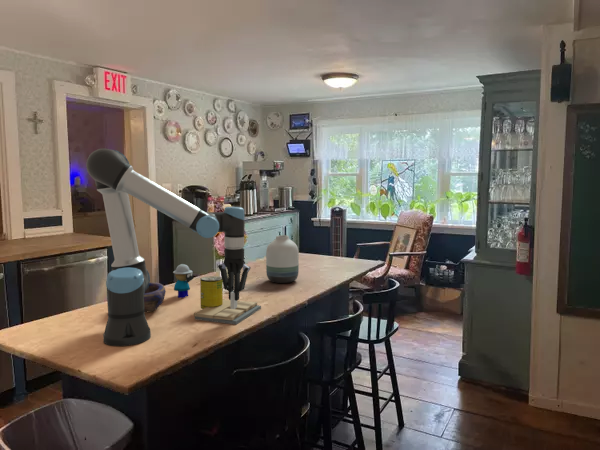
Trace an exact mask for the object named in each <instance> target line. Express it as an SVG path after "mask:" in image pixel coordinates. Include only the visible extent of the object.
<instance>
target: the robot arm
mask: <svg viewBox="0 0 600 450" xmlns="http://www.w3.org/2000/svg"><path fill="white" fill-rule="evenodd" d="M85 166H86V171H87V174H89V176H90V177H91V178H92V179H93V180H94V183H95V186H96V191H97V192H98V193H100V194H101V195H102V199H103V203H104V204H103V205H104V210H105V216H106V220H107V221H106V222H107V224H108V231H109V235H110V241H111V247H112V252H113V258H114V260H113V262H112V263H111V264H110V265H111V271H109V272H108V273H107V276H106V280H105V281H106V282H105V286H106V302H107V320H106V324H105V329H104V332H103V334H102V336H103V337H102V338H103V339H102V340H103V343H104V344H105V345H108V346H112V347H129V346H133V345H138V344H141V343H144V342H146V341H148V340H149V339H150V338H151V335H152V334H151V328H150V326H149V323H148V321H147V320H148V319H147V318H146V314H145V313H146V312H144V293H145V291H146V290H147V288H148V286H149V283H151V279H150V278H151V277H150V276H151V275H150V273H149V270H148V268H147V265H146V259H145V258H144V257H143V256H141V255H140V251H139V247H138V246H139V245H138V241H137V239H138V238H137V235H136V230H135V224H134V218H133V213H132V206H131V201H130V196H132V197H134V198H135V199H137V200H139V201H141V202H143V203H144V204H146V205H148V206H150V207H151V208H153V209H155V210H157V211H158V212H160V213H162V214H165V215H166V216H167V217H169V218H171V219H173V220H174V221H176V222H179V223H180V224H181V225H183V226H185V227H187V228H189V229H191V230H192V232H194V233H197V234H198V235H199V236H201V238H205V239H211V238H213V237H215V236H217V234H218V233H224V235H223V236H224V238H223V239H224V241H223V243H224V244H223V246H224V250H223V254H224V255H223V256H224V260H223V263H221V264H218V265H217V268H218V269H219V271H220V277H222V281H223V290H225V291H228V300H231V309H236V308H237V300H238V301H240V292H242V291H244V290H245V287H246V282H247V279H248V275H249V271H251V266H248V265H247V264H246V262H245V227H246V226H245V223H246V222H245V220H246V219H245V209H244V208H243V207H241V206H226V207H224V211H220V212H219V211H218V212H215V211H214V212H213V211H209V212H208V211H204V210H202V209H201V208H199V207H198V206H196V205H194V204H192V203H190V202H189V201H187V200H185V199H184V198H182V197H180V196H178V195H177V194H175V193H174V192H171V191H170V190H168V189H166V188H164V187H163V186H161V185H160V184H159V183H156V182H155V181H153V180H151V179H149V178H148V177H147V176H144V175H143V174H141V173H139V172H137V171H135V170H134V167H133V165H131V164H130V162H129V160H128V158H127V157H126V156H125V155H124V154H123V153H122V152H121V151H118V150H116V149H111V148H110V149H109V148H98V149H96V150H94V151H92V152H91V153H90V154H89V156H88V158H87V159H86V164H85ZM129 195H130V196H129ZM241 271H242V272H241Z"/></svg>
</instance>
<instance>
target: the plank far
mask: <svg viewBox="0 0 600 450" xmlns="http://www.w3.org/2000/svg"><path fill="white" fill-rule="evenodd" d="M238 301H239V302H237V308H236V309H237V310H244V311H248V310H250V309H251V308H253V307H255V306H256V305H258V302H257V301H246V300H238ZM229 309H231V306H230V307H229Z"/></svg>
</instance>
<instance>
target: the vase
mask: <svg viewBox="0 0 600 450" xmlns="http://www.w3.org/2000/svg"><path fill="white" fill-rule="evenodd" d="M265 250H266V252H265V253H266V254H265V265H266V267H265V270H266V271H265V273H266V277H267V279H268V281H270V282H272V283H277V284H287V283H293V282H295V281H296V280H297V278H298V276H299V271H300V270H299V267H300V266H299V265H300V263H299V262H300V261H299V260H300V257H299V255H300V254H299V253H300V252H299V247H298V245H297V244H296V242H295V241H293V240H292V239H290V236H289V235H287V234H284V235H283V234H281V235H276V236H275V239H274V240H272V241H271V242H270V243H269V244H268V245H267V247H266V249H265Z"/></svg>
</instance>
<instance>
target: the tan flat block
mask: <svg viewBox="0 0 600 450" xmlns="http://www.w3.org/2000/svg"><path fill="white" fill-rule="evenodd" d="M243 313H244V310H237V309H225V310H223V311H221V312H219V313H217V314H216V315H214V316H213V317H214V319H224V320H234V319H235V318H237V317H238V316H240V315H242V314H243Z"/></svg>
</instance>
